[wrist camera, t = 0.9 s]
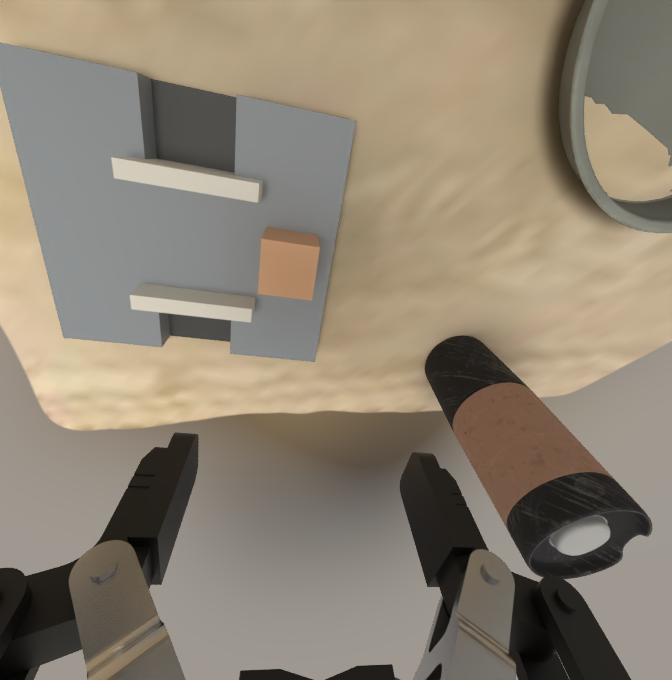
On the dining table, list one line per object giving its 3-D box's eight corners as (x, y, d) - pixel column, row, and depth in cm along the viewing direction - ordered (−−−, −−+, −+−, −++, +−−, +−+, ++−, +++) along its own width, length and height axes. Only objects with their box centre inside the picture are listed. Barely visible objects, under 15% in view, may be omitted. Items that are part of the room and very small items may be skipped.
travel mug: (410, 355, 36) (511, 544, 19) (476, 320, 35) (650, 490, 17) (437, 400, 40) (542, 593, 22) (497, 369, 38) (660, 551, 21)
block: (266, 226, 26) (261, 238, 22) (317, 234, 26) (320, 247, 23) (263, 275, 28) (257, 293, 24) (310, 282, 28) (311, 300, 25)
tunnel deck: (20, 50, 21) (-51, 26, 17) (351, 123, 25) (361, 117, 21) (80, 324, 31) (44, 352, 27) (313, 348, 35) (315, 377, 30)
